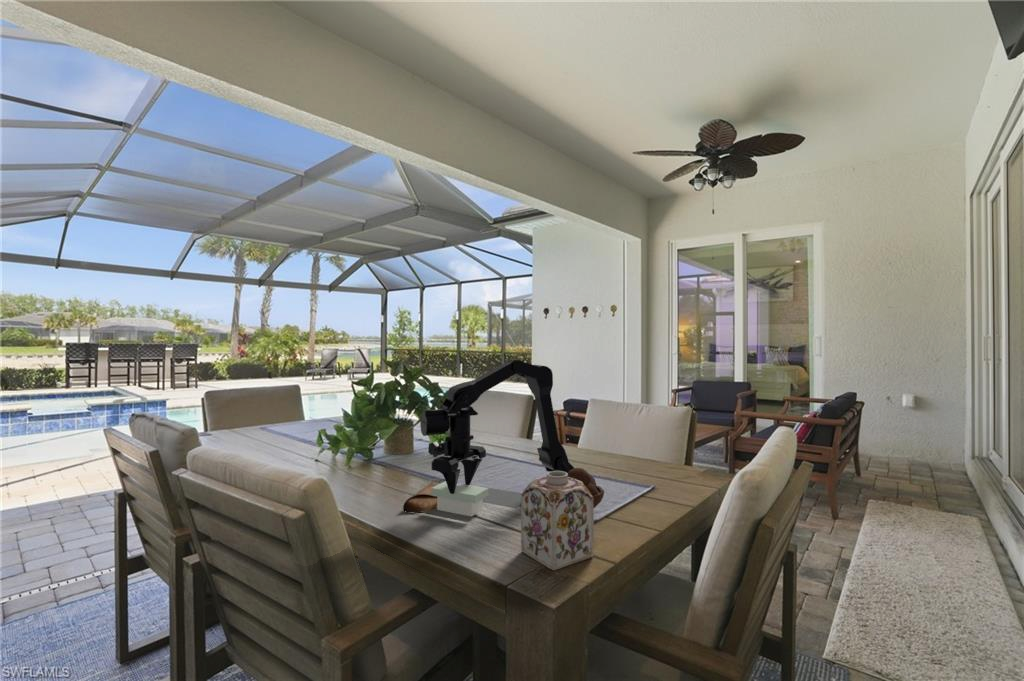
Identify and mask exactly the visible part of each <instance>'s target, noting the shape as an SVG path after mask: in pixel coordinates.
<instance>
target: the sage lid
mask: <svg viewBox="0 0 1024 681" xmlns="http://www.w3.org/2000/svg"><path fill="white" fill-rule="evenodd" d="M435 485H436V486H434V487H432V488H431V495H433V496H438V497H444V498H449V499H455V500H460V501H466V502H472V503H477V502H478V501H480V500H482V499H483V498H485V497H487V496H488V488H489V487H488V488H485V487H486V486H482V487H481V486H477V485H471V484H470V485H466V484H465V483H460V482H457V485H456V489H455V492H454V494H451V493H450V492H449V489H448V486H447V483H446V480H444V481H443V482H441V483H439V484H435Z"/></svg>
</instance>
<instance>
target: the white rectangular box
mask: <svg viewBox="0 0 1024 681" xmlns="http://www.w3.org/2000/svg"><path fill="white" fill-rule="evenodd" d="M483 503H484V502H483V499H482V500H480V501H478V502H477V503H472V502H466V501H460V500H455V499H449V498H444V497H438V496H437V506H436V508H437V509H436V511H437V510H438V511H443V512H446V513H452V514H457V515H461V516H462V515H463V516H468V517H473V516H475V515H476V514H479V513H480V512H481V511H483V510H484V509H483Z"/></svg>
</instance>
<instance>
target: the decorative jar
mask: <svg viewBox="0 0 1024 681" xmlns="http://www.w3.org/2000/svg"><path fill="white" fill-rule="evenodd" d="M521 493H522V494H521V505H520V509H521V510H520V511H521V512H520V544H521V545H520V546H521V550H520V551H521V553H523V554H524V555H527V556H528V557H529V558H532V559H533V560H535V561H536V562H538V563H539V564H542V565H543V566H545V567H546V568H548V569H550V570H551V569H552V570H551V571H553V570H554V571H558V570H560V569H563V568H565V567H568V566H571V565H574V564H577V563H580V562H582V561H584V560H588V559H591V558H592V557H594V544H595V543H594V538H595V537H594V536H595V533H594V531H595V527H594V525H595V523H594V509H593V496H592V495H591V493H590V491H589V490H588V489H587V488H586V486H585V485H584V484H583V482H582V481H579V480H576V479H574V478H570V477H568V474H567V473H566V472H564V471H551V472H548V471H547V473H546V476H540V477H537V478H534V479H533V480H531V482H529V484H528V485H527V486H526V487H525V488H524V489H523V491H522V492H521Z"/></svg>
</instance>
